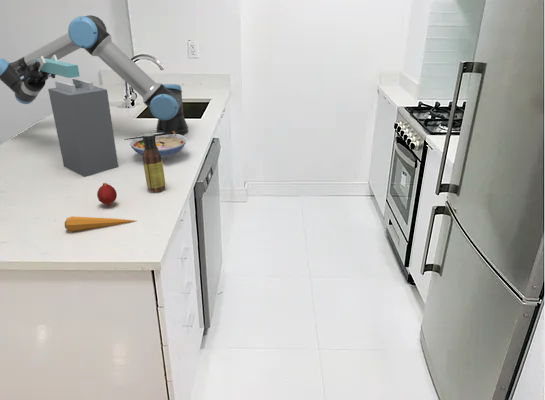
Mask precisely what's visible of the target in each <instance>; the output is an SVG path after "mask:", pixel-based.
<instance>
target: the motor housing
mask: <svg viewBox="0 0 545 400" xmlns="http://www.w3.org/2000/svg"><path fill="white" fill-rule="evenodd" d="M71 79H72V83H69V82H67V81H63V80H55V81H54V85H55V87H52V88H48V95H49V100H50V104H51V110H52V114H53V118H54V119H53V120H54V124H55V125H54V126H55V130H56V134H57V138H58V144H59V149H60V154H61V158H62V164H63V167H65V169H67V170H70V171H72V172H74V173H76V174H77V175H79V176H81V177H84V178H86V177H89V176H94V175H96V174H101V173H104V172H106V171H109V170H113V169H116V168H117V169H118V168H119V163H118V155H117V150H116V142H115V141H116V140H115V136H114V135H115V134H114V129H113V122H112V115H111V108H110V101H109V94H108V90H107V88H102V87H99V86H94V82H92V81H89V80H84V79H80V78H78V77H74V78H71Z"/></svg>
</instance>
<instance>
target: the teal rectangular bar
mask: <svg viewBox="0 0 545 400" xmlns="http://www.w3.org/2000/svg"><path fill="white" fill-rule="evenodd" d="M38 60H39V59H35V63H36V62H38ZM44 60H45V62H46V63H45V65H44V66H43V68H42V69H41V70H39V69H38V70H39V71H44V72H47V73H51V74H55V76H56V75H57V76H60V77H64V78H67V79H74V78H79V77H81V76H80V72H79V71H80V70H79V65H78V64H74V63H70V62H64V61H60V60H58V61H56V60H51V59H47V58H44Z"/></svg>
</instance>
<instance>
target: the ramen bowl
mask: <svg viewBox="0 0 545 400" xmlns="http://www.w3.org/2000/svg"><path fill="white" fill-rule="evenodd" d="M153 133H154V134H155V142H156V146H157V148H158V151H159V153H160V155H161V157H162V161H164V159H165V160H167V158H168V159H169V158H172V157H175V156H176V155H178V154H179V153H180V152H181V151H182V149H183V148H184V147H185V145H186V144H187V138H186V136H184V135H180V134H177V133H184V131H183V130H178V131H172V132H166V133H157V132H153ZM142 135H143V134H142ZM142 135H138V136H136V137H131V138H123V139H124V141H126V140H127V141H128V140H129V145H130V147H131V148H132V150H133V151H134V152H135V153H137V154H138V155H139V156H141V157H143V152H144V149H145V147H144V140H143V136H142Z"/></svg>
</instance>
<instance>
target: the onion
mask: <svg viewBox="0 0 545 400" xmlns="http://www.w3.org/2000/svg"><path fill="white" fill-rule="evenodd" d="M96 195H97V199H98V201H99V202H100V203H102V204H104V205H105V206H107V207H108V206H111V205H112V204H113V203H114V202H115V201H116V199H117V197H118V195H117V190H116V188H115V187H114V186H112V185H111V184H109V183H108V182H103V183H102V185H101V186H100V187H99V188H98V190H97V193H96Z"/></svg>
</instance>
